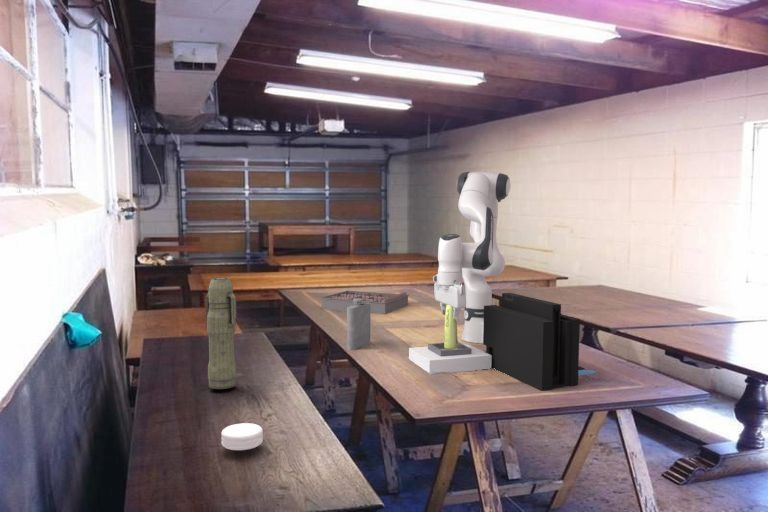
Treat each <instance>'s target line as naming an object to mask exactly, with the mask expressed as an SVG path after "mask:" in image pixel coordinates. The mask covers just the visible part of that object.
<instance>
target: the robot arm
mask: <svg viewBox="0 0 768 512" xmlns="http://www.w3.org/2000/svg"><path fill="white" fill-rule="evenodd" d="M456 190H457V191H456V192H457V193H458V194H459V199H458V203H457V205H458V207H457V208H458V211H459V212H460V214H461V215H462V216H463V217H464V218H465V219H467V220H468V221H470V223H469V224H470V225H469V235H470V237H471V238H472V239H473V242H463V241H462V237H461V235H459V234H456V233H448V234H444V235H441V236H440V237H439V241H438V249H437V250H438V251H437V261H438V268H437V274H435V275H434V276H433V277H432V280H433V282H434V285H433V289H434V291H433V292H434V293H433V294H434V299H435V301H436V302H439V305H440V309H441V314H442V315H445V313H446V304H447V305H450V306H452V307H453V310H454V313H453V314H452V316H453V317H452V318H453V319H456V320H458V319H459V314H460V311H461V309H464V311H463V313H464V314H463V317H464V324H463V331H462V335H461V340H462V341H463V342H468V343H472V344H473V343H475V344H483V327H484V306H487V305H493V303H492V302H493V296H492V294H493V290H492V288H491V286H490V285H489V284H488V282H487V280H486V277H494V276H499V275H500V274H502V272H503V271H504V269H505V265H506V260H505V257H504V256H503V254H502V253H501V251H500V248H499V245H498V243H497V242H498V241H497V224H498V215H499V203H501V202H502V201H503V200H505V198H507V197H508V196H509V193H510V190H511V180H510V177H509V175H508V174H504V173H501V172H499V173H498V172H497V173H496V172H491V171H471V172H470V171H464V172H461V174H459V175H458V178H457V180H456ZM463 283H464V284H463Z"/></svg>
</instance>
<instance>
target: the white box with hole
mask: <svg viewBox="0 0 768 512" xmlns="http://www.w3.org/2000/svg"><path fill="white" fill-rule="evenodd" d="M485 352H486V351H483V350H481V349H479V348H477V347H475V346H472V345H471V344H468V343H461V342H459V341H458V348H456V349H446V348H444V342H438V343H427V346H419V347H418V346H416V347H408V359H409V361H411V362H412V363H413V364H415V365H416V366H418V367H419V368H420V369H422V370H424V371H425V372H427V374H428V375H429V376H430V375H442V374H443V375H444V373H448V374H452V373H454V374H455V373H463V372H464V373H465V372H475V370H477V371H483V370H482V369H488V370H491V369H492V368H491V362H492V355H490V354H488V353H485ZM490 368H491V369H490Z"/></svg>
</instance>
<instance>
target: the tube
mask: <svg viewBox="0 0 768 512" xmlns="http://www.w3.org/2000/svg"><path fill="white" fill-rule="evenodd" d="M453 313H454V310H453V307H452V306H450V305H447V304H446V313H445V316H444V332H443V333H444V336H443V337H444V342H443V343H444V348H446V349H456V348H458V342H459V341H458V324H457V322H458V321H457V319H453V318H452V317H453V316H452V314H453Z"/></svg>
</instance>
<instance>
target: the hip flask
mask: <svg viewBox="0 0 768 512" xmlns="http://www.w3.org/2000/svg"><path fill="white" fill-rule="evenodd" d="M353 302H354V305H352V306H349V307H347V311H346V316H347V317H346V326H347V327H346V328H347V329H346V333H347V334H346V336H347V337H346V350H347V351H356V350H358V349H360V348H362V347H365V346H367V345H370V344H371V313H370V303H361V302H362V299H353Z"/></svg>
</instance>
